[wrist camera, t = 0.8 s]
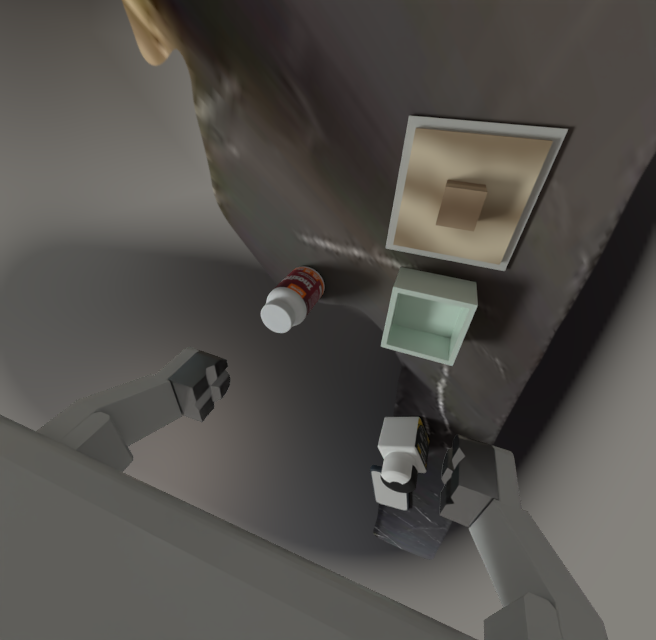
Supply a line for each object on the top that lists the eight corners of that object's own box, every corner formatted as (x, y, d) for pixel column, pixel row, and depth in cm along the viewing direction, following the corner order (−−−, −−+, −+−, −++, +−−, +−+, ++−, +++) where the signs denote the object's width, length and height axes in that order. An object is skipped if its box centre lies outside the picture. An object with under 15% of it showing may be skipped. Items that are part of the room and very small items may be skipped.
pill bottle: (326, 268, 47) (296, 305, 39) (325, 302, 51) (297, 342, 43) (289, 261, 49) (253, 295, 40) (291, 294, 53) (258, 331, 44)
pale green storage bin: (400, 266, 43) (393, 286, 38) (476, 282, 41) (477, 305, 36) (388, 323, 49) (380, 346, 44) (453, 339, 47) (452, 366, 42)
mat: (409, 115, 33) (409, 115, 33) (566, 128, 29) (568, 129, 29) (386, 246, 42) (385, 248, 42) (504, 269, 38) (504, 271, 38)
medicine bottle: (429, 440, 61) (423, 500, 52) (395, 439, 65) (384, 495, 55) (419, 415, 58) (411, 474, 49) (384, 416, 62) (370, 471, 53)
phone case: (410, 506, 79) (408, 471, 70) (409, 512, 77) (407, 478, 69) (376, 496, 82) (370, 462, 73) (374, 502, 81) (368, 468, 72)
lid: (416, 127, 33) (411, 130, 30) (551, 140, 30) (562, 145, 27) (394, 242, 41) (388, 255, 37) (499, 262, 38) (502, 277, 34)
